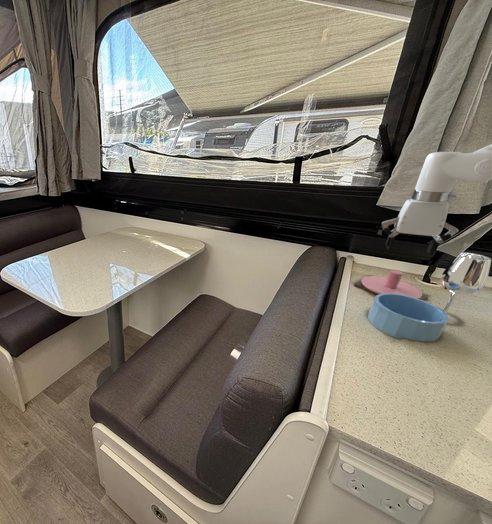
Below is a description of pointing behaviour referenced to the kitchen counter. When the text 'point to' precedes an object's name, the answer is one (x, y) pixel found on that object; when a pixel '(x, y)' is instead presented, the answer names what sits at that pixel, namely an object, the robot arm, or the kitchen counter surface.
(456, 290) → the wineglass
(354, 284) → the board
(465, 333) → the kitchen counter surface
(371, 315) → the bowl
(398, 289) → the pink knobbed lid
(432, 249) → the robot arm
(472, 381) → the kitchen counter surface
